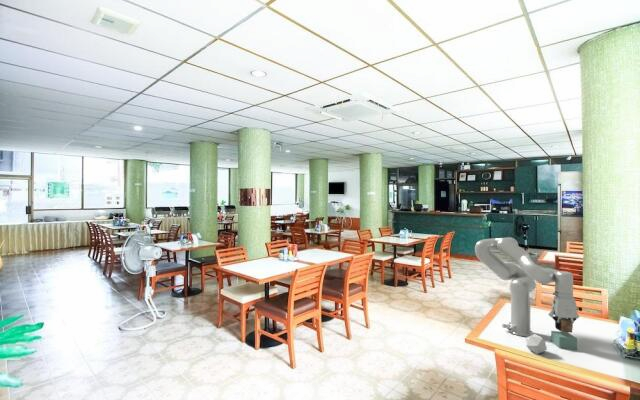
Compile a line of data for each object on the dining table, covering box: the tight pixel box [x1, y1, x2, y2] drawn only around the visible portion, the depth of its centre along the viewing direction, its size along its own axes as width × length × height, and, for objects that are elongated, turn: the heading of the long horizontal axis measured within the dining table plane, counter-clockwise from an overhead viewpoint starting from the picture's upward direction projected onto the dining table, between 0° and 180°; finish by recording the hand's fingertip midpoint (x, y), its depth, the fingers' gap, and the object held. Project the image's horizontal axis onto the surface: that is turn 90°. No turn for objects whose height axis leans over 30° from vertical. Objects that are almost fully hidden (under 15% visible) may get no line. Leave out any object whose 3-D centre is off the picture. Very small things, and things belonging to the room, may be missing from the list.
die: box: [524, 333, 547, 355], centre depth 159 cm, size 8×9×10 cm
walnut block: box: [558, 318, 573, 334], centre depth 167 cm, size 5×5×6 cm
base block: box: [550, 330, 578, 351], centre depth 167 cm, size 8×8×6 cm
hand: (563, 329), depth 167 cm, fingers closed on walnut block, 5 cm apart
